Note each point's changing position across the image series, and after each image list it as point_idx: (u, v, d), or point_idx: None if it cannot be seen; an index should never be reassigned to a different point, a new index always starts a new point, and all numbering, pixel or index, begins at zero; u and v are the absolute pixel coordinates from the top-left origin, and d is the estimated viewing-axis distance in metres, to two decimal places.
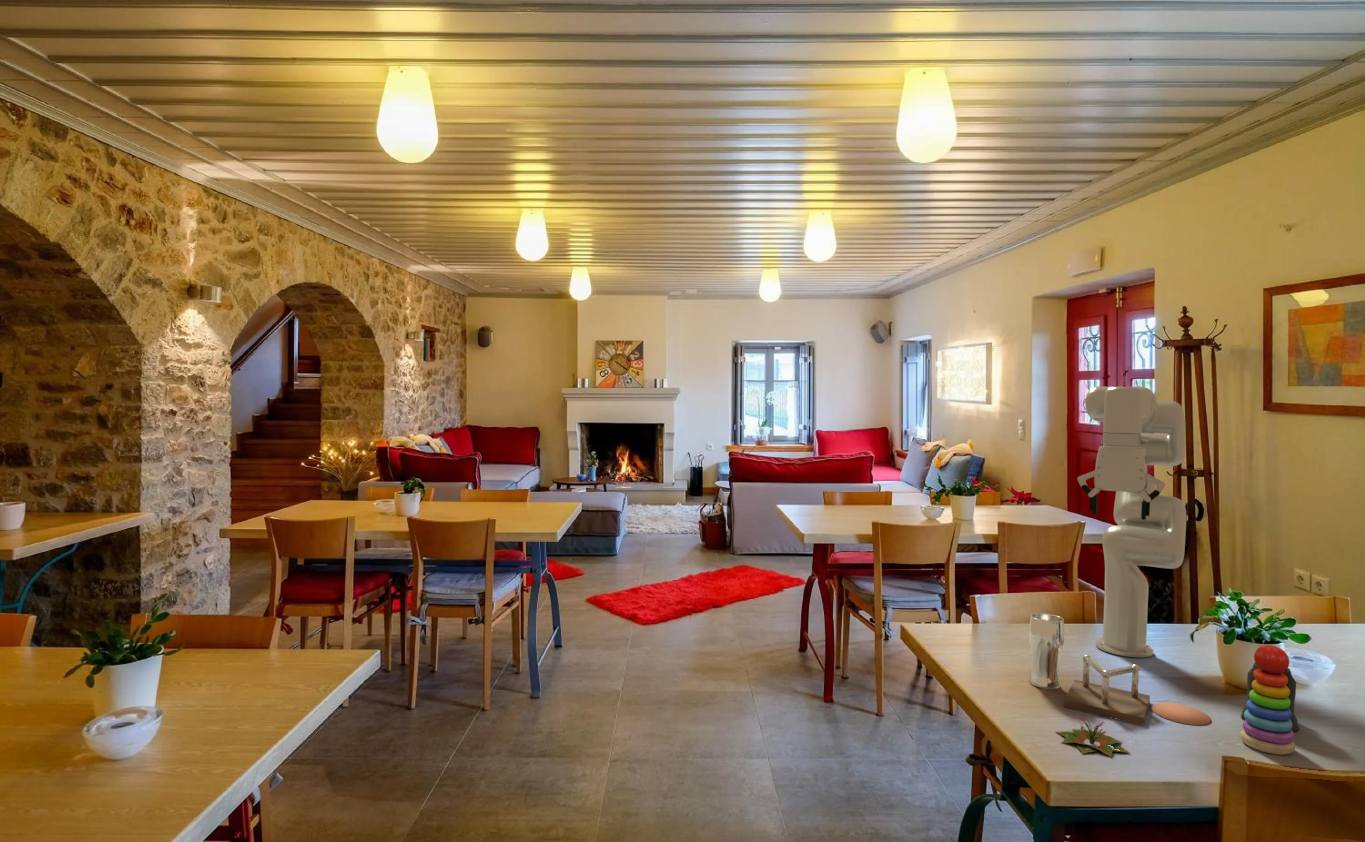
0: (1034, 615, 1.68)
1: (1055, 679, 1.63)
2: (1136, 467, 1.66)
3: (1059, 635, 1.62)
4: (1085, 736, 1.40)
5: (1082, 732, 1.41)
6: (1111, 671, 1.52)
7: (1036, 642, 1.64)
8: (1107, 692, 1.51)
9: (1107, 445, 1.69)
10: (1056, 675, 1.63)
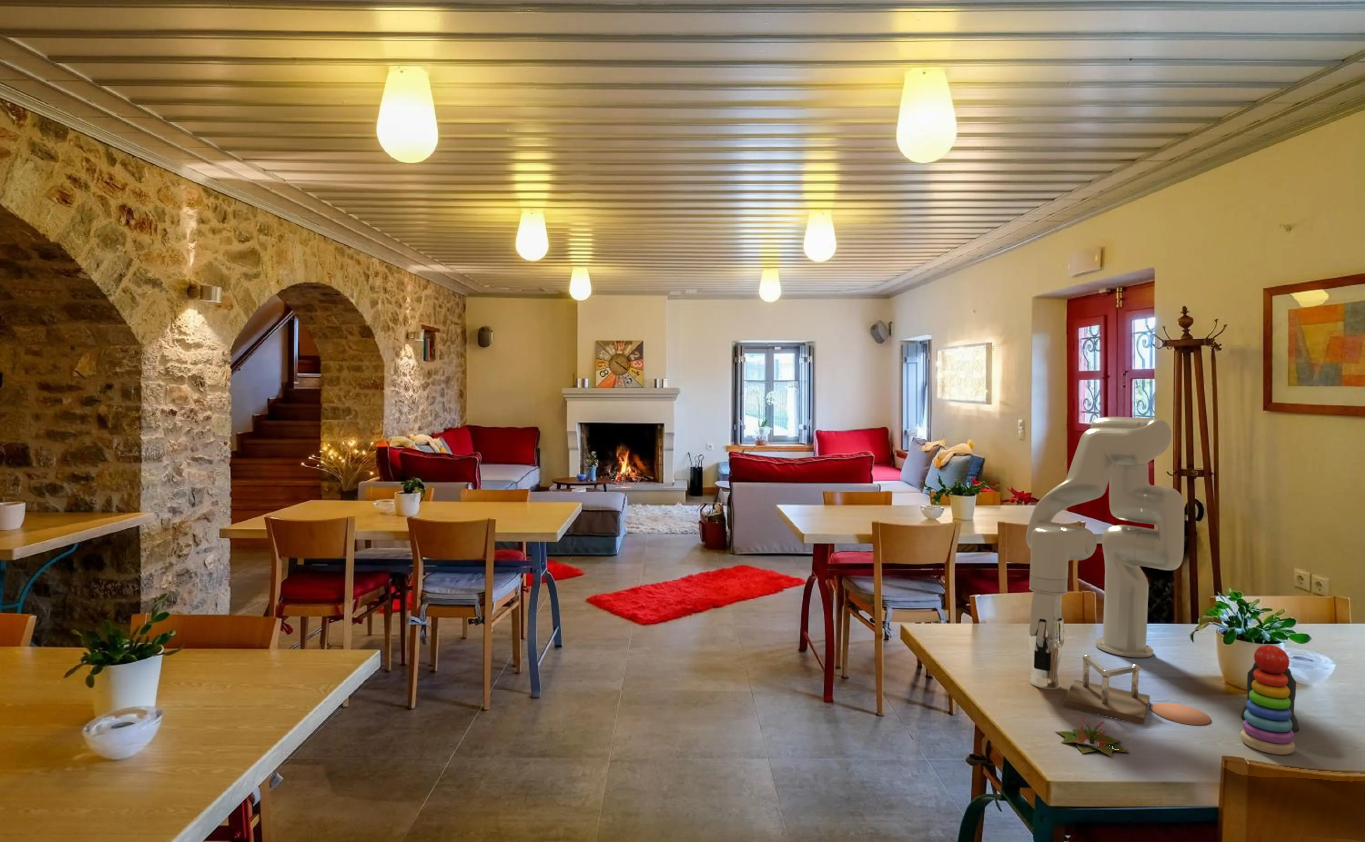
0: None
1: (1055, 679, 1.63)
2: None
3: (1059, 635, 1.62)
4: (1085, 736, 1.40)
5: (1082, 732, 1.41)
6: (1111, 671, 1.52)
7: None
8: (1107, 692, 1.51)
9: (1060, 592, 1.61)
10: (1056, 675, 1.63)
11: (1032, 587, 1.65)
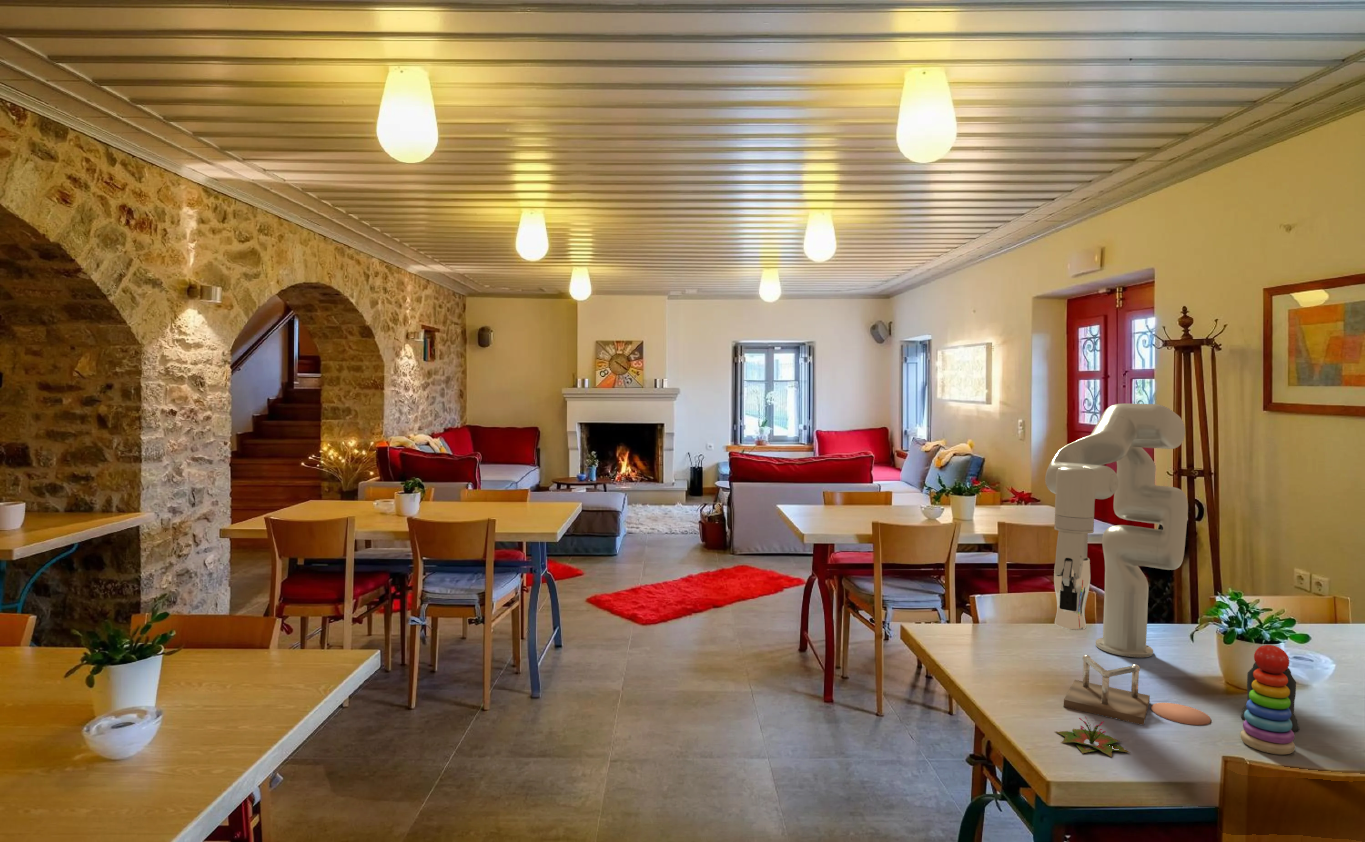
0: None
1: (1081, 620, 1.60)
2: None
3: (1085, 574, 1.59)
4: (1085, 736, 1.40)
5: (1082, 732, 1.41)
6: (1111, 671, 1.52)
7: None
8: (1107, 692, 1.51)
9: (1086, 531, 1.58)
10: (1082, 616, 1.60)
11: (1057, 527, 1.62)
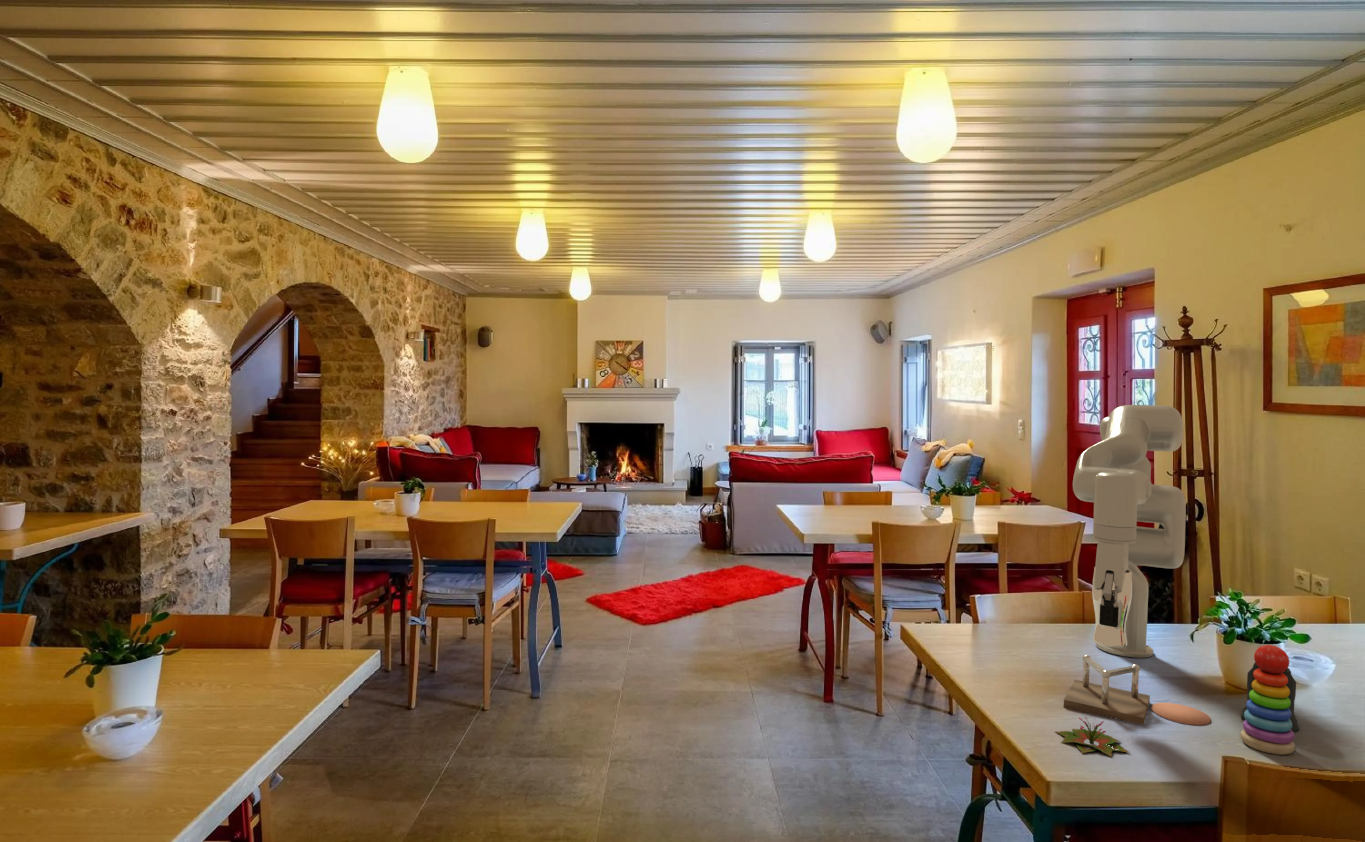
0: None
1: (1122, 636, 1.49)
2: None
3: (1127, 588, 1.48)
4: (1085, 736, 1.40)
5: (1081, 732, 1.41)
6: (1111, 671, 1.52)
7: None
8: (1107, 692, 1.51)
9: (1128, 541, 1.48)
10: (1123, 632, 1.50)
11: (1097, 536, 1.51)
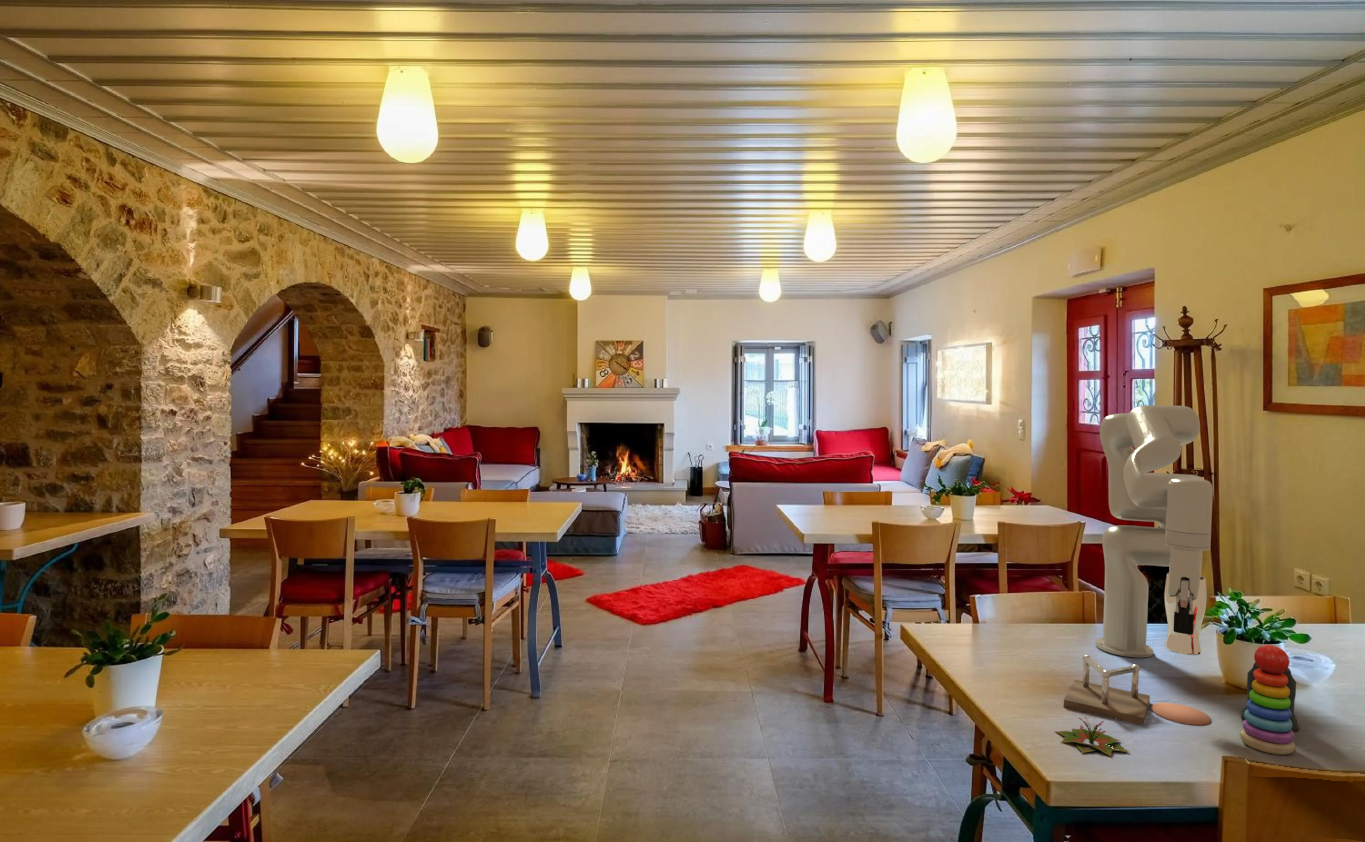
0: None
1: (1197, 644, 1.48)
2: None
3: (1202, 595, 1.47)
4: (1084, 735, 1.40)
5: (1081, 731, 1.41)
6: (1111, 671, 1.52)
7: (1175, 603, 1.49)
8: (1107, 692, 1.51)
9: (1204, 548, 1.46)
10: (1198, 639, 1.48)
11: (1170, 543, 1.50)
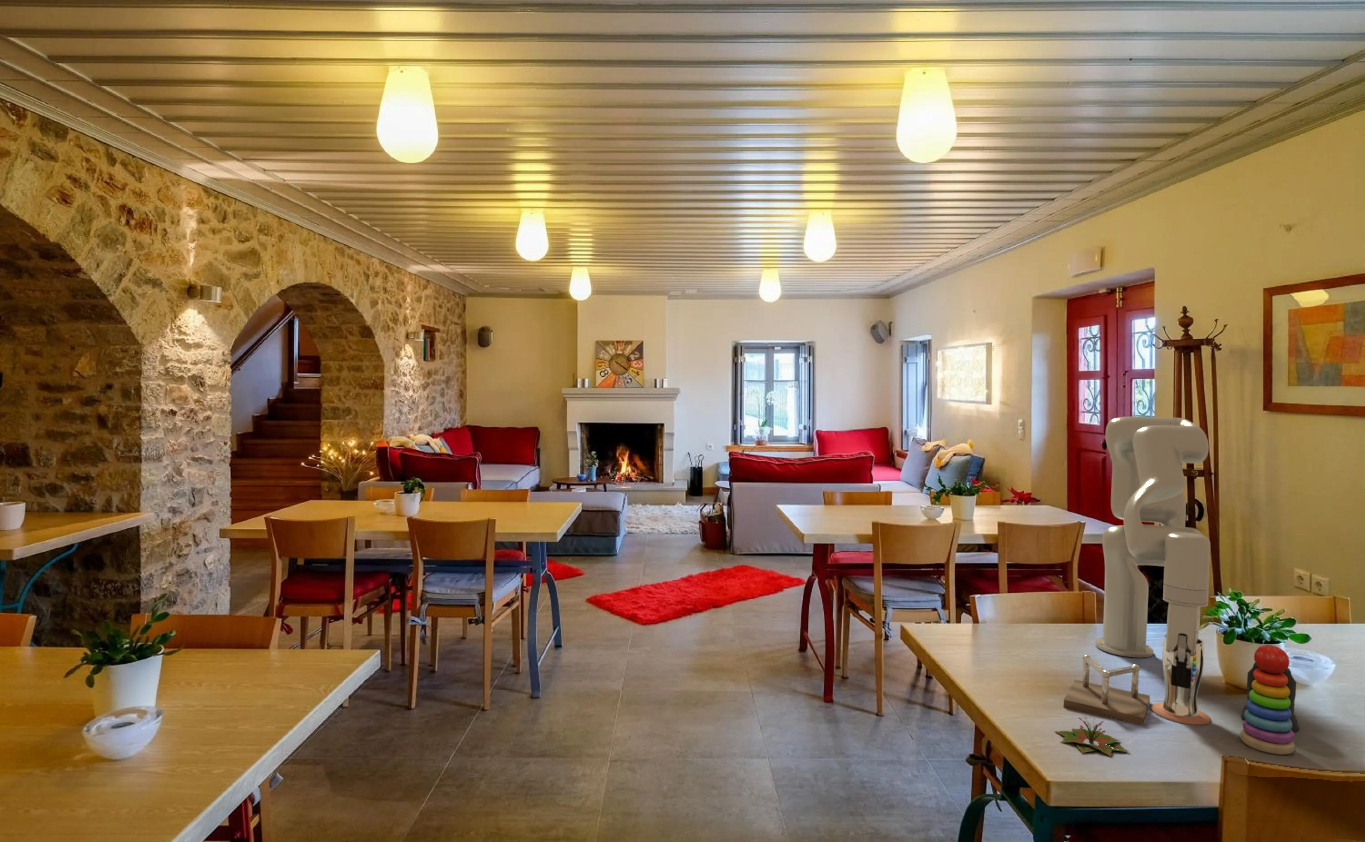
0: None
1: (1194, 707, 1.49)
2: None
3: (1200, 659, 1.48)
4: (1084, 735, 1.40)
5: (1081, 731, 1.41)
6: (1111, 671, 1.52)
7: None
8: (1107, 692, 1.51)
9: (1201, 604, 1.47)
10: (1195, 703, 1.49)
11: (1168, 598, 1.50)
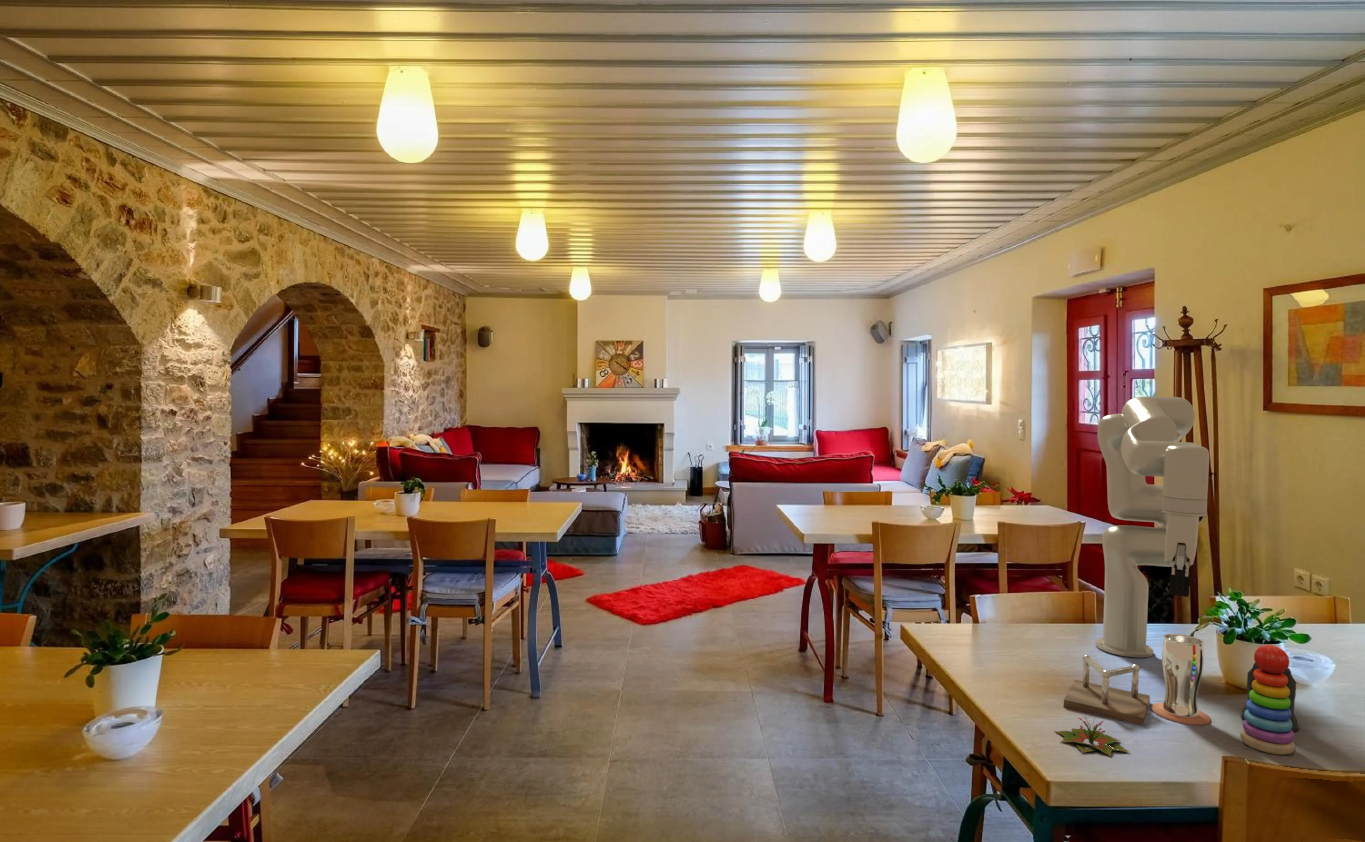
0: (1167, 636, 1.53)
1: (1194, 707, 1.49)
2: None
3: (1200, 659, 1.48)
4: (1084, 735, 1.40)
5: (1081, 731, 1.41)
6: (1111, 671, 1.52)
7: (1173, 666, 1.49)
8: (1107, 692, 1.51)
9: (1200, 514, 1.48)
10: (1195, 703, 1.49)
11: (1167, 509, 1.51)
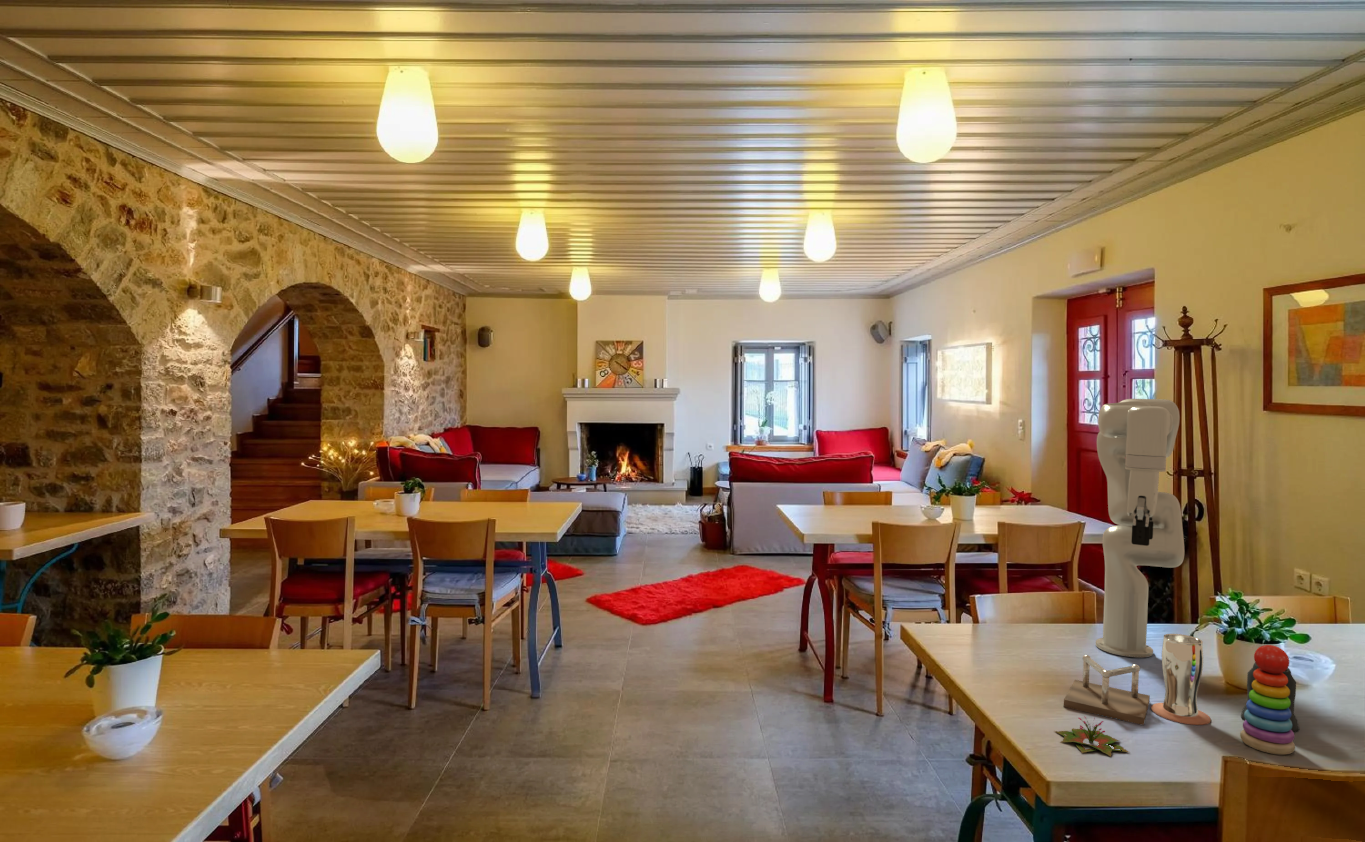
0: (1166, 636, 1.53)
1: (1194, 707, 1.49)
2: None
3: (1199, 659, 1.48)
4: (1084, 735, 1.40)
5: (1081, 731, 1.41)
6: (1111, 671, 1.52)
7: (1172, 666, 1.49)
8: (1107, 692, 1.51)
9: (1159, 469, 1.60)
10: (1195, 702, 1.49)
11: (1129, 466, 1.63)
